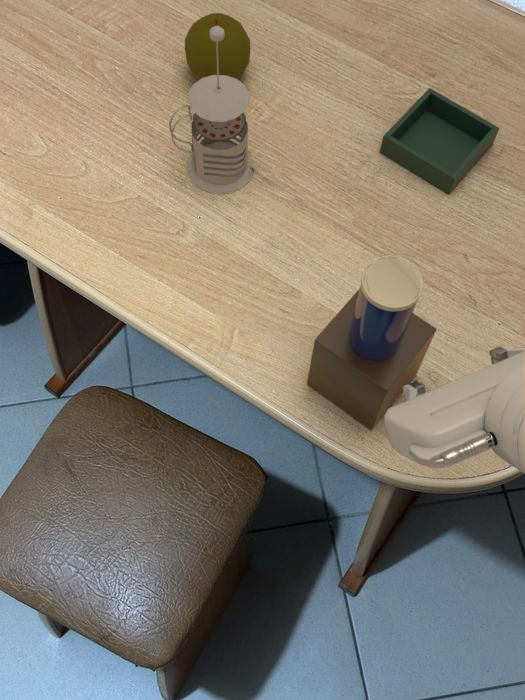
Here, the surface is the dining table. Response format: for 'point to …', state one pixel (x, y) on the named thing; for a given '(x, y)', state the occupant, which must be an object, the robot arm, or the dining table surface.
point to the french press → (217, 131)
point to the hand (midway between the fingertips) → (454, 372)
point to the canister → (384, 306)
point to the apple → (229, 49)
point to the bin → (438, 140)
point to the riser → (365, 368)
